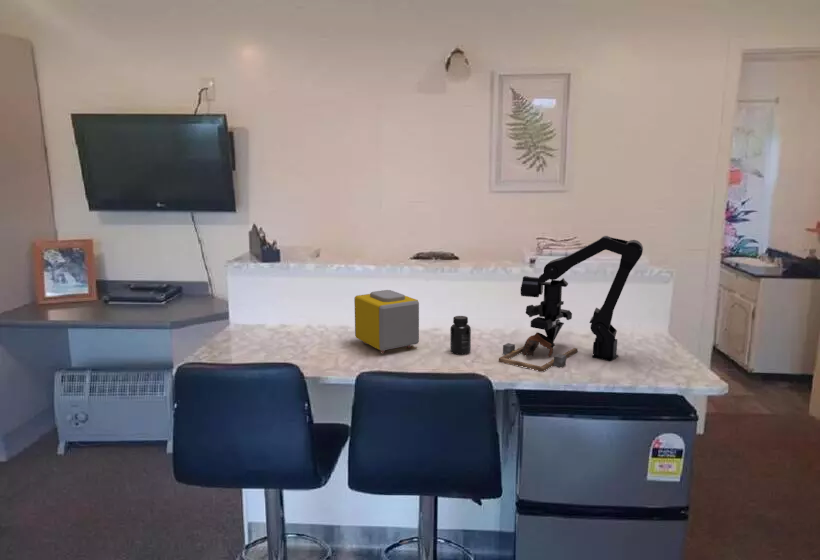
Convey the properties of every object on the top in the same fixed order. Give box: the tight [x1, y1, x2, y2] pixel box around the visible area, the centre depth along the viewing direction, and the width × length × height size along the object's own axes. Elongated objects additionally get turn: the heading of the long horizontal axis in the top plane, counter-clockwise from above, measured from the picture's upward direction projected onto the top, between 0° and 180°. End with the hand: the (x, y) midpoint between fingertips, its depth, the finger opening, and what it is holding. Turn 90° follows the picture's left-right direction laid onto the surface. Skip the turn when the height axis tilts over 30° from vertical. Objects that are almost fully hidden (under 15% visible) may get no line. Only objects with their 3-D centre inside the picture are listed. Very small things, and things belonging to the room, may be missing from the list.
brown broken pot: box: [521, 332, 556, 358], centre depth 197 cm, size 12×10×8 cm
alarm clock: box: [353, 289, 420, 354], centre depth 207 cm, size 20×16×18 cm
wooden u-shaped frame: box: [498, 342, 578, 372], centre depth 196 cm, size 21×25×3 cm
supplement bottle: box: [449, 315, 472, 356], centre depth 200 cm, size 7×7×12 cm
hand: (550, 343), depth 202 cm, fingers closed
